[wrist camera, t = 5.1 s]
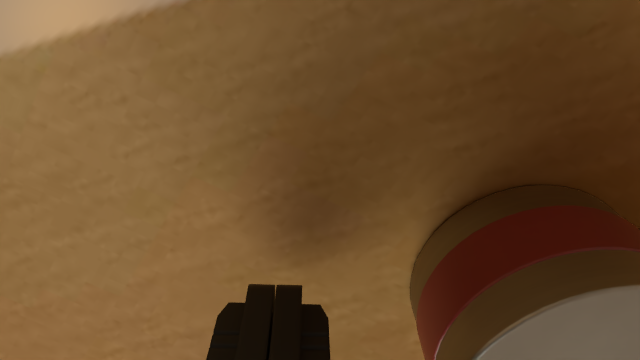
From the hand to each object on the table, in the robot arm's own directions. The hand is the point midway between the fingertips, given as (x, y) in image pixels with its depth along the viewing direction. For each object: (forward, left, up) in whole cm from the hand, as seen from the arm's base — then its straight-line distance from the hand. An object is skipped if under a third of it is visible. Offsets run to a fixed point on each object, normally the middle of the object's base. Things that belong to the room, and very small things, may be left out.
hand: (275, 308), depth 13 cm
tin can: (+4, +6, -2) cm, 8 cm away
